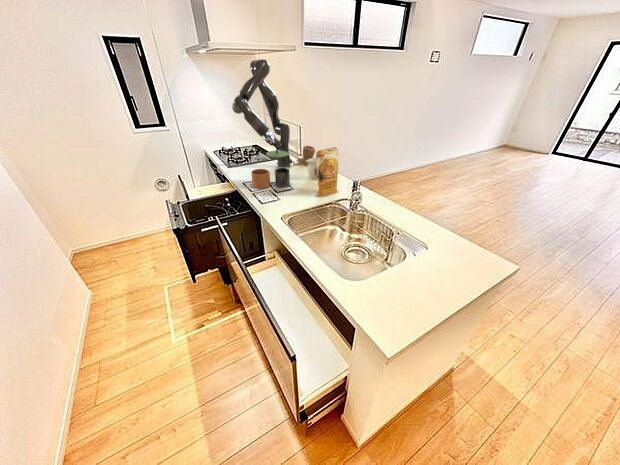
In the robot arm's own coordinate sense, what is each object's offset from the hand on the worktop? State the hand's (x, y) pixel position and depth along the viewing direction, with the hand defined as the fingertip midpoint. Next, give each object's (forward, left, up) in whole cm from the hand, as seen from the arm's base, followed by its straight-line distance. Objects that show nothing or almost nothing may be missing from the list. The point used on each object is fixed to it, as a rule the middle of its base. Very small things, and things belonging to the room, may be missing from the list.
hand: (279, 148), depth 162 cm
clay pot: (+13, -4, -25) cm, 28 cm away
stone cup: (-33, -36, -25) cm, 55 cm away
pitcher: (-28, -5, -25) cm, 38 cm away
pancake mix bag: (-23, +23, -25) cm, 41 cm away
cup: (-1, 0, -25) cm, 25 cm away
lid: (+2, -1, -4) cm, 5 cm away
